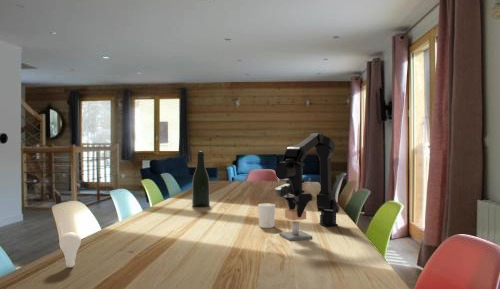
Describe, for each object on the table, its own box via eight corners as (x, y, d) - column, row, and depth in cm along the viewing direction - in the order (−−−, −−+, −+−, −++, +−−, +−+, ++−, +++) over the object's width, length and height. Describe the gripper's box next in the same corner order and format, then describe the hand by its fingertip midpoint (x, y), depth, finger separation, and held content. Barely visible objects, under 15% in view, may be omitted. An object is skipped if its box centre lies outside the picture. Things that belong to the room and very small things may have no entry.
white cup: (273, 228, 177) (273, 206, 177) (256, 228, 179) (256, 205, 179) (276, 225, 185) (276, 203, 185) (259, 224, 186) (259, 203, 186)
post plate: (301, 233, 169) (301, 219, 169) (312, 238, 159) (312, 223, 159) (279, 235, 165) (279, 220, 165) (289, 240, 156) (289, 225, 156)
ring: (299, 216, 166) (299, 208, 166) (306, 219, 160) (306, 211, 160) (285, 217, 164) (285, 209, 164) (291, 220, 158) (291, 212, 158)
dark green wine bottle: (213, 205, 241) (212, 150, 241) (202, 207, 233) (201, 151, 232) (199, 203, 247) (199, 150, 247) (188, 206, 238) (188, 151, 238)
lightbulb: (64, 264, 127) (63, 230, 127) (83, 264, 128) (83, 229, 128) (56, 270, 121) (56, 234, 121) (77, 270, 122) (76, 234, 122)
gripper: (268, 176, 168) (268, 213, 168) (286, 180, 151) (287, 221, 151) (292, 175, 172) (292, 211, 172) (313, 179, 154) (313, 219, 154)
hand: (295, 215), depth 162 cm, fingers closed on ring, 6 cm apart
